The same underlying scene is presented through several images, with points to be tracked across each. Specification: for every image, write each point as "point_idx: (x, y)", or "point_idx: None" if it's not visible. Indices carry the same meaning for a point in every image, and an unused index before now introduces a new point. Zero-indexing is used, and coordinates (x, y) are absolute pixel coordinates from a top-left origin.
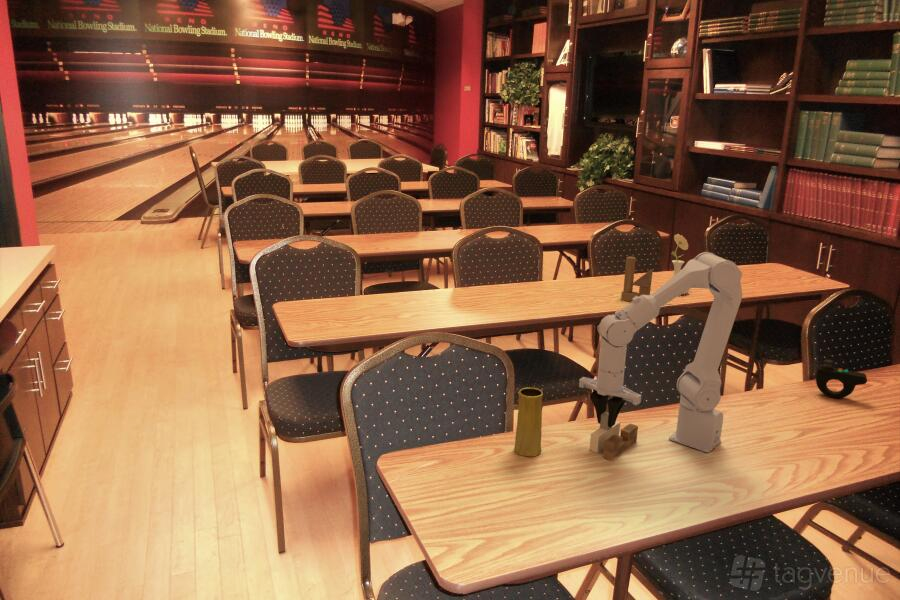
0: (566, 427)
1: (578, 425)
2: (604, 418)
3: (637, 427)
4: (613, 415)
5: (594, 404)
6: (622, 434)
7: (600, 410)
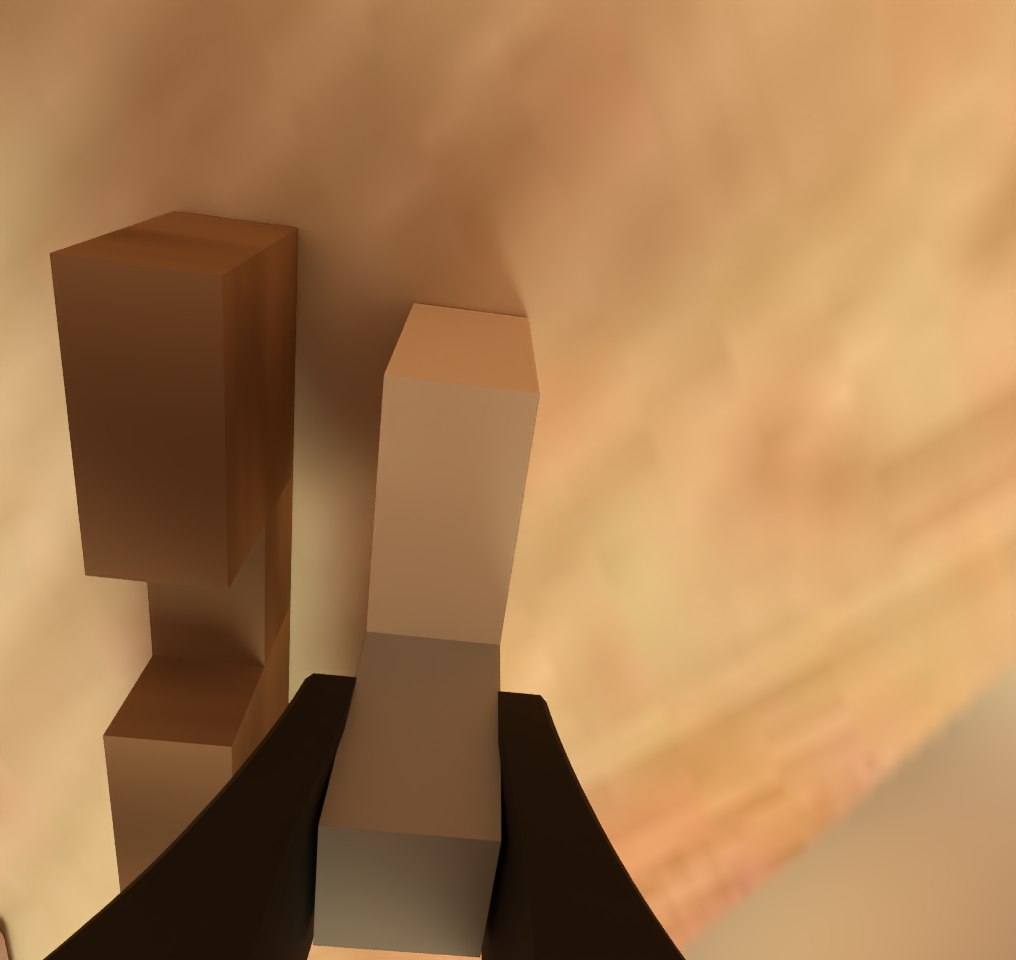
0: (939, 644)
1: (828, 742)
2: (420, 777)
3: None
4: (160, 858)
5: None
6: (220, 702)
7: (519, 906)
